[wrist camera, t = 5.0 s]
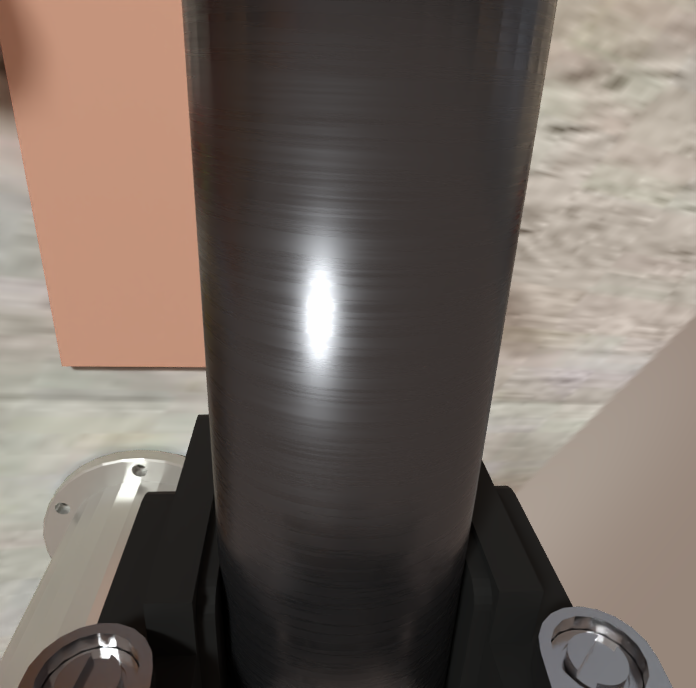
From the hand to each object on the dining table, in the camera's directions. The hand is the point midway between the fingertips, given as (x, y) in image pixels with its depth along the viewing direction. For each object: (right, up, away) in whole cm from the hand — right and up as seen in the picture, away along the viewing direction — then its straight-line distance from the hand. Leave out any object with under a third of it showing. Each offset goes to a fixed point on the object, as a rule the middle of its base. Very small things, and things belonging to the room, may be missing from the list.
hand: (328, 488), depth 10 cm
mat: (-10, +11, +18) cm, 23 cm away
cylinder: (0, -1, -3) cm, 3 cm away
